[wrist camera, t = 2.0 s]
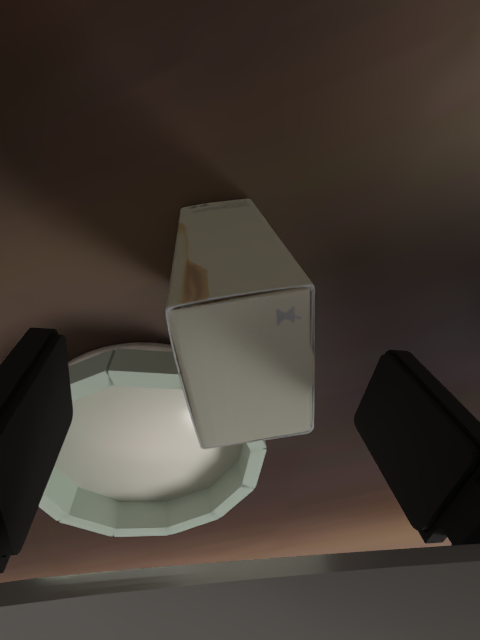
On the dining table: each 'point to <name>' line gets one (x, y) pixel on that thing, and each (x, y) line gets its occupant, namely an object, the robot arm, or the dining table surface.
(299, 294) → the skincare box
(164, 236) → the dining table surface
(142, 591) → the robot arm
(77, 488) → the round tray
